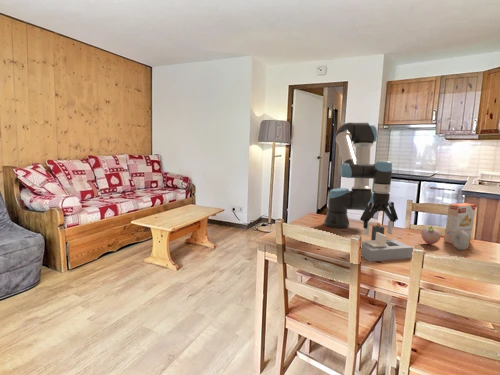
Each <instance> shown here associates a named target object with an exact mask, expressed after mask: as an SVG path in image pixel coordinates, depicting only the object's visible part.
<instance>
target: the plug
mask: <svg viewBox="0 0 500 375" xmlns="http://www.w3.org/2000/svg"><path fill="white" fill-rule="evenodd" d="M371 228H372V229H371V239H370V240H375V239H376V232H379V233H381V234H383V235H385V226H383V225H382V226H381V222H377V223H376V224H375V225H372V226H371Z"/></svg>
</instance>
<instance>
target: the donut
mask: <svg viewBox="0 0 500 375" xmlns="http://www.w3.org/2000/svg"><path fill="white" fill-rule="evenodd" d="M453 243H454V247H455V248H456V249H458V250H459V251H466V250H467V248H468V247H469V246H470V242H469V237H468V235H467V233H466V232H465V231H463V230H458V231H456V232H455V233H454V235H453Z"/></svg>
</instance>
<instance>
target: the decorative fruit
mask: <svg viewBox="0 0 500 375" xmlns="http://www.w3.org/2000/svg"><path fill="white" fill-rule="evenodd" d="M421 238H422V240H423V241H424V242H425V243H426V244H427V245H429V246H431V245H434V244H436V243H438V242H439V241H440V239H441V233H440V231H439V230H438V229H436V228H434V227H433V226H432V225H431V226H428V227H425V228H423V229H422V230H421Z"/></svg>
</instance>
